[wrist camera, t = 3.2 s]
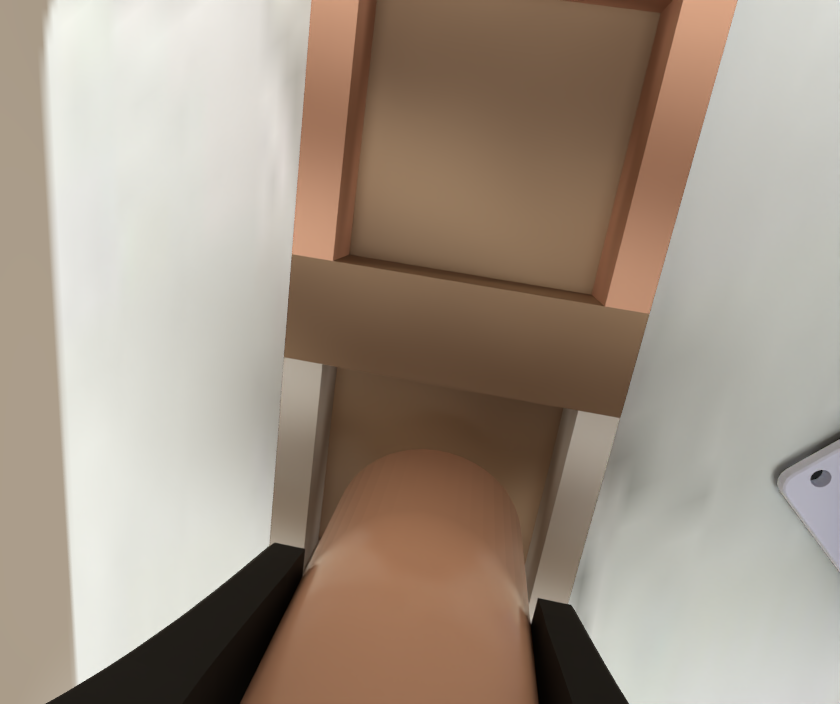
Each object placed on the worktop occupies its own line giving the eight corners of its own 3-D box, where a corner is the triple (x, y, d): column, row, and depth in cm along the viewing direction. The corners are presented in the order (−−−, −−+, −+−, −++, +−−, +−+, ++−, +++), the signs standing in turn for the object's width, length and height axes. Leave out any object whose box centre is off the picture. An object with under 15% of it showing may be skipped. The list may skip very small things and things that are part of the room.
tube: (441, 412, 12) (378, 698, 5) (559, 555, 12) (647, 980, 6) (299, 514, 13) (94, 856, 6) (414, 638, 13) (342, 1073, 7)
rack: (332, -90, 13) (298, -154, 10) (735, -42, 12) (794, -99, 10) (278, 554, 18) (248, 606, 16) (555, 612, 17) (566, 674, 15)
